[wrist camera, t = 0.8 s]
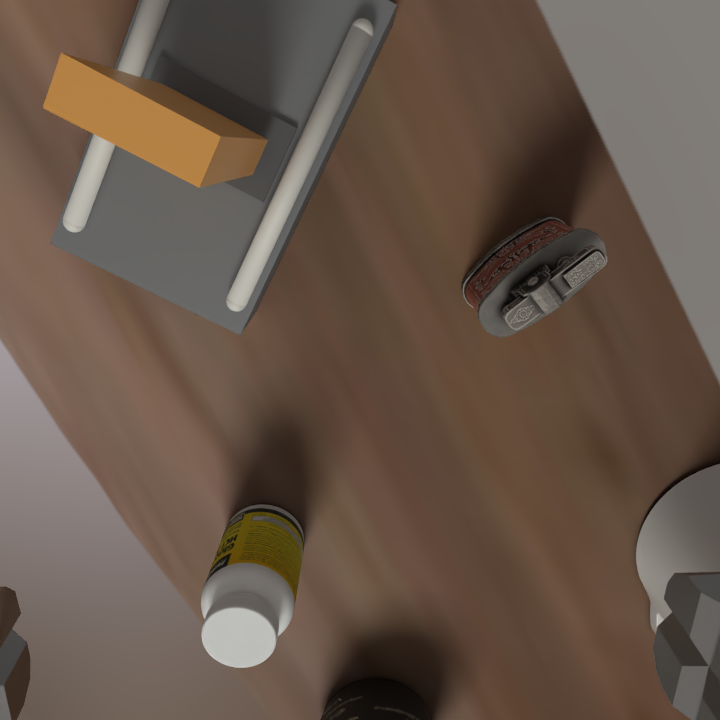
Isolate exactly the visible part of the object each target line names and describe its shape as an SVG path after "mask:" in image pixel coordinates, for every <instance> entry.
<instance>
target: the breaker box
mask: <svg viewBox="0 0 720 720" xmlns="http://www.w3.org/2000/svg"><path fill="white" fill-rule="evenodd" d="M396 7H397V5H396V4H394V3H393V2H391V1H389V0H139V2H138V5H137V7H136V10H135V13H134V16H133V18H132V21H131V24H130V27H129V29H128V32H127V35H126V38H125V40H124V43H123V46H122V49H121V51H120V54H119V57H118V60H117V62H116V65H115V68H114V69H116V70H119V71H122V72H125V73H129V74H132V75H135V76H138V77H141V78H145V79H148V80H151V81H154V82H158V83H161V84H164V85H166V86H168V87H169V88H171V89H173V90H175V91H177V92H179V93H181V94H183V95H185V96H186V97H188V98H190V99H192V100H194V101H196V102H198V103H200V104H201V105H203V106H205V107H207V108H209V109H211V110H213V111H215V112H217V113H218V114H220V115H222V116H224V117H226V118H228V119H230V120H232V121H234V122H235V123H237V124H239V125H241V126H243V127H245V128H247V129H249V130H251V131H252V132H254V133H256V134H258V135H260V136H262V137H264V138H266V139H268V142H267V144H266V146H265V148H264V151H263V153H262V155H261V157H260V160H259V162H258V164H257V166H256V169H255V171H254V173H253V175H249V176H245V177H241V178H237V179H233V180H229V181H225V182H221V183H217V184H213V185H209V186H205V187H201V188H199V187H197V186H195V185H193V184H191V183H189V182H187V181H185V180H183V179H181V178H179V177H177V176H175V175H173V174H171V173H169V172H167V171H165V170H163V169H161V168H159V167H157V166H155V165H154V164H152V163H150V162H148V161H146V160H144V159H142V158H140V157H138V156H136V155H134V154H132V153H130V152H128V151H126V150H124V149H122V148H120V147H118V146H116V145H114V144H112V143H110V142H108V141H107V140H105V139H103V138H101V137H99V136H97V135H95V134H93V133H91V134H90V137H89V139H88V142H87V145H86V148H85V150H84V153H83V156H82V159H81V161H80V164H79V167H78V170H77V172H76V175H75V178H74V181H73V183H72V186H71V189H70V192H69V194H68V197H67V200H66V203H65V205H64V208H63V211H62V214H61V216H60V219H59V222H58V225H57V227H56V230H55V233H54V236H53V238H52V241H51V244H52V245H54V246H56V247H58V248H60V249H63V250H65V251H67V252H69V253H71V254H73V255H75V256H77V257H79V258H81V259H83V260H85V261H87V262H89V263H92V264H94V265H96V266H98V267H100V268H102V269H104V270H106V271H108V272H110V273H112V274H114V275H116V276H118V277H121V278H123V279H125V280H127V281H129V282H131V283H133V284H135V285H137V286H139V287H141V288H143V289H145V290H147V291H150V292H152V293H154V294H156V295H158V296H160V297H162V298H164V299H166V300H168V301H170V302H172V303H174V304H176V305H179V306H181V307H183V308H185V309H187V310H189V311H191V312H193V313H195V314H197V315H199V316H201V317H203V318H205V319H208V320H210V321H212V322H214V323H216V324H218V325H220V326H222V327H224V328H226V329H228V330H230V331H232V332H234V333H237V334H239V335H241V334H242V332H243V331H244V329H245V328H246V326H247V324H248V323H249V321H250V320H251V318H252V317H253V315H254V314H255V312H256V311H257V309H258V306H259V304H260V302H261V300H262V298H263V296H264V294H265V292H266V290H267V288H268V285H269V283H270V281H271V279H272V277H273V275H274V273H275V271H276V269H277V267H278V265H279V262H280V260H281V258H282V256H283V254H284V252H285V250H286V248H287V246H288V244H289V241H290V239H291V237H292V235H293V233H294V231H295V229H296V227H297V225H298V223H299V220H300V218H301V216H302V214H303V212H304V210H305V208H306V206H307V204H308V202H309V199H310V197H311V195H312V193H313V191H314V189H315V187H316V185H317V183H318V181H319V178H320V176H321V174H322V172H323V170H324V168H325V166H326V164H327V162H328V160H329V157H330V155H331V153H332V151H333V149H334V147H335V145H336V143H337V141H338V139H339V136H340V134H341V132H342V130H343V128H344V126H345V124H346V122H347V120H348V118H349V115H350V113H351V111H352V109H353V107H354V105H355V103H356V101H357V99H358V97H359V94H360V92H361V90H362V88H363V86H364V84H365V82H366V80H367V78H368V76H369V73H370V71H371V69H372V67H373V65H374V63H375V61H376V59H377V57H378V55H379V52H380V50H381V48H382V46H383V44H384V42H385V40H386V38H387V36H388V34H389V31H390V29H391V27H392V25H393V21H394V16H395V12H396Z"/></svg>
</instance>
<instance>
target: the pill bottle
mask: <svg viewBox="0 0 720 720" xmlns="http://www.w3.org/2000/svg"><path fill="white" fill-rule="evenodd" d="M303 550H304V535H303V531H302V528H301V526H300V524H299V523H298V521H297V520H296V519H295V518H294V517H293V516H292V515H291V514H290V513H288V512H287V511H285V510H283V509H281V508H279V507H276V506H272V505H265V504H259V505H252V506H249V507H246V508H244V509H242V510H241V511H239V512H238V513H237V514H235V515H234V516H233V517H232V519H231V520H230V521H229V523H228V525H227V527H226V529H225V532H224V534H223V537H222V540H221V543H220V545H219V548H218V551H217V554H216V556H215V559H214V562H213V564H212V567H211V570H210V572H209V575H208V578H207V580H206V583H205V586H204V588H203V592H202V597H201V608H202V613H203V616H204V619H205V621H204V624H203V627H202V642H203V645H204V647H205V649H206V650H207V652H208V653H209V654H210V655H211V656H212V657H213V658H214V659H215V660H217V661H219V662H220V663H222V664H224V665H227V666H231V667H238V668H246V667H251V666H255V665H257V664H260V663H261V662H263V661H265V660H266V659H267V658H268V657H269V656H270V655H271V654H272V652H273V651H274V649H275V646H276V642H277V637H278V636H279V635H280V634H281V633H282V632H283V631H284V630H285V629H286V627H287V626H288V624H289V623H290V621H291V618H292V615H293V612H294V607H295V601H296V595H297V588H298V581H299V575H300V569H301V563H302V557H303Z"/></svg>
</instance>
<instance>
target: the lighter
mask: <svg viewBox="0 0 720 720" xmlns="http://www.w3.org/2000/svg"><path fill="white" fill-rule="evenodd" d="M606 263H607V257H606V246H605V244H604V242H603V240H602V238H601V237H600V236H599V235H598V234H597V233H594V232H592V231H590V230H588V229H584V228H573V227H571V226H568V225H566V224H565V223H564V222H563V221H562V220H560V219H558V218H555V217H553V216H545V217H541V218H539V219H537V220H535V221H533V222H532V223H530V224H528V225H526V226H524V227H522V228H520V229H519V230H517V231H516V232H514V233H513V234H511V235H510V236H508V237H507V238H505V239H504V240H502V241H501V242H500V243H498V244H497V245H496V246H495V247H494V248H493V249H492V250H490V251H489V252H488V253H487V254H486V255H485V256H484V257H483V258H482V259H480V260H479V262H478V263H477V264H476V265H475V266H474V267H473V268H472V270H471V271H470V272H469V273H468V274H467V275H466V276H465V278H464V279H463V281H462V285H461V291H462V295H463V297H464V299H465V300H466V302H467V303H468V304H469V305H470V306H471V307H472V308H474V309H475V311H476V312H477V315H478V319H479V321H480V323H481V325H482V326H483V328H484V329H485V330H486V331H487V332H488V333H489V334H491V335H493V336H496V337H507V336H510V335H512V334H514V333H516V332H518V331H520V330H522V329H524V328H526V327H528V326H530V325H532V324H534V323H536V322H537V321H539V320H540V319H542V318H543V317H545V316H546V315H548V314H550V313H552V312H554V311H555V310H556V309H558V308H559V307H560V306H561V305H562V304H563V303H565V302H566V301H567V300H568V299H569V298H571V297H572V296H573V295H574V294H575V293H576V292H578V291H579V290H580V289H581V288H582V287H583V286H584V285H585V284H586V283H587V282H588V281H589V280H590V279H591V278H592V277H593V275H594V274H595V273H596V272H597V271H599V270H600V269H601V268H603V267H604V266H605V265H606Z"/></svg>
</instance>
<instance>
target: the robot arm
mask: <svg viewBox="0 0 720 720" xmlns="http://www.w3.org/2000/svg"><path fill="white" fill-rule="evenodd" d="M636 562H637V569H638V573H639V576H640V579H641V581H642V583H643V585H644V587H645V589H646V591H647V593H648V595H649V598H650V601H651V608H650V622H651V627H652V629H653V631H654V632H655V633H656V636H655V641H654V647H653V649H654V657H655V665H656V671H657V674H658V677H659V680H660V683H661V685H662V688H663V690H664V692H665V693H666V695H667V697H668V699H669V701H670V702H671V704H672V706H673V707H675V708H676V709H677V710H679V711H680V712H682V713H683V714H684V715H686V716H687V717H689V718H690V719H691V720H720V464H718V465H714V466H711V467H708V468H706V469H703V470H701V471H699V472H696V473H694V474H692V475H691V476H689V477H687V478H685V479H684V480H682V481H681V482H679V483H678V484H677V485H675V486H674V487H673V488H671V489H670V490H669V491H668V492H667V493H666V494H665V495H664V496H663V497H662V498H661V499H660V500H659V501H658V502H657V503H656V505H655V506H654V507H653V509H652V510H651V512H650V513H649V515H648V516H647V518H646V520H645V522H644V524H643V526H642V529H641V531H640V534H639V538H638V542H637V549H636ZM20 614H21V612H20V608H19V604H18V601H17V597H16V593H15V591H13V590H11V589H10V588H7V587H0V720H17V718H18V716H19V714H20V711H21V709H22V707H23V705H24V702H25V697H26V693H27V689H28V685H29V681H30V655H29V650H28V645H27V642H26V641H25V640H24V639H23V638H22V637H20V636H19V635H18V634H17V633H16V632H15V631H14V630H13V629H12V628H13V626H14V624H15V622H16V621H17V619H18V617H19V616H20Z"/></svg>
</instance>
